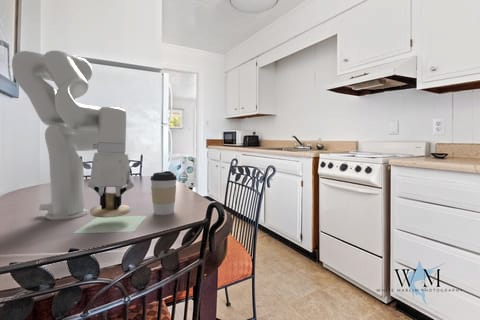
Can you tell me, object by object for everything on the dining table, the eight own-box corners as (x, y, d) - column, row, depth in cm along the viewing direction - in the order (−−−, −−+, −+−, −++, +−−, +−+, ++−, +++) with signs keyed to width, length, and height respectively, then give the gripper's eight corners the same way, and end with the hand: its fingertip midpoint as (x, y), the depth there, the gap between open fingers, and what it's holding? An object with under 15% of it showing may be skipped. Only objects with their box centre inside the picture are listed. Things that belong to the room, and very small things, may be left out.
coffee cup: (169, 217, 88) (169, 173, 87) (145, 216, 90) (145, 173, 89) (180, 211, 97) (180, 171, 96) (158, 209, 98) (158, 170, 98)
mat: (72, 234, 71) (72, 233, 71) (97, 217, 87) (97, 216, 87) (133, 232, 73) (133, 231, 73) (146, 216, 89) (146, 215, 89)
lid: (83, 217, 74) (83, 196, 73) (98, 206, 85) (98, 188, 84) (123, 217, 75) (124, 197, 75) (133, 207, 86) (134, 189, 86)
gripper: (76, 147, 74) (76, 210, 75) (136, 150, 76) (134, 212, 77) (88, 146, 81) (88, 204, 83) (142, 149, 83) (141, 205, 85)
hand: (110, 207), depth 80 cm, fingers closed on lid, 3 cm apart
